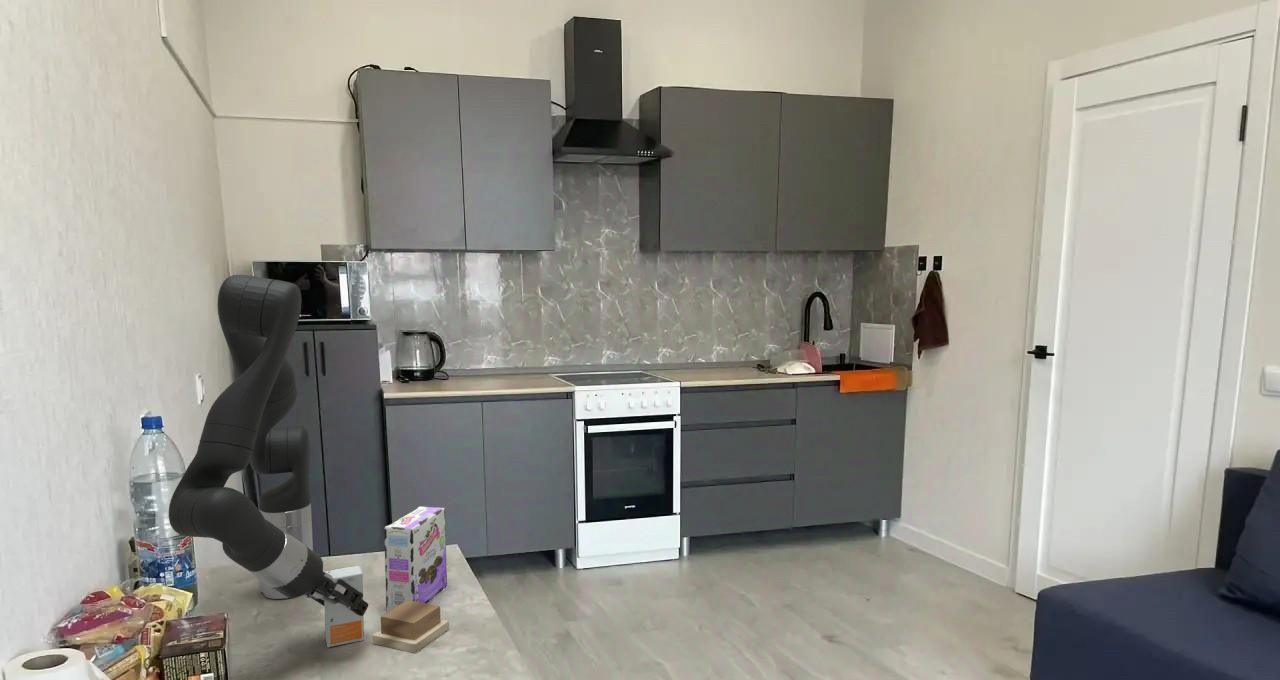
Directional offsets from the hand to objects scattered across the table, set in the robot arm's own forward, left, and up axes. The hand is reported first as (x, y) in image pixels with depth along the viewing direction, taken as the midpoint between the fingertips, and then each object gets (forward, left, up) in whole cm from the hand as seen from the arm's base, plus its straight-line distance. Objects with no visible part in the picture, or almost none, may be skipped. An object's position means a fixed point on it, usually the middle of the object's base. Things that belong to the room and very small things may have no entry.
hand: (346, 605), depth 125 cm
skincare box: (0, -1, -6) cm, 6 cm away
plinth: (+10, +4, -6) cm, 12 cm away
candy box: (+1, +17, -6) cm, 18 cm away
